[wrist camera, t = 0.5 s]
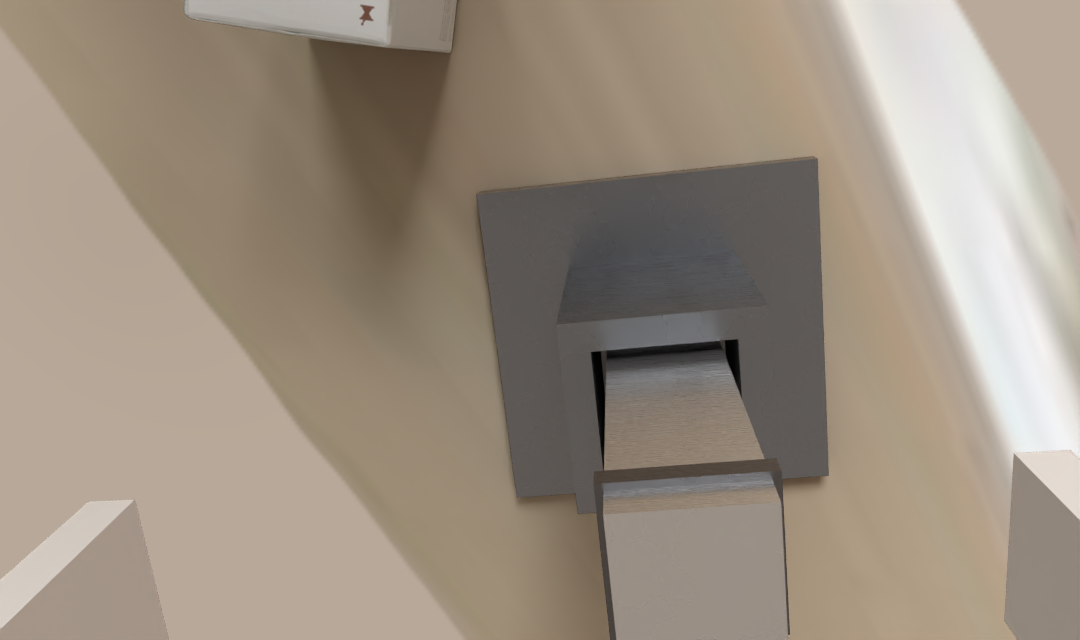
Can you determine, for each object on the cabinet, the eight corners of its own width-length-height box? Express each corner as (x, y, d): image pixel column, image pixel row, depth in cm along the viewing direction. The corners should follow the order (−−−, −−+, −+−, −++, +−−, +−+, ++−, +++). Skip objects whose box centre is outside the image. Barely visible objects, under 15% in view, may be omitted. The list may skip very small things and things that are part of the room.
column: (602, 295, 45) (592, 506, 24) (705, 286, 44) (790, 492, 23) (611, 392, 46) (610, 673, 25) (712, 383, 45) (798, 664, 24)
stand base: (479, 191, 45) (434, 235, 34) (812, 156, 43) (884, 190, 32) (518, 489, 49) (490, 617, 38) (824, 467, 47) (890, 594, 36)
